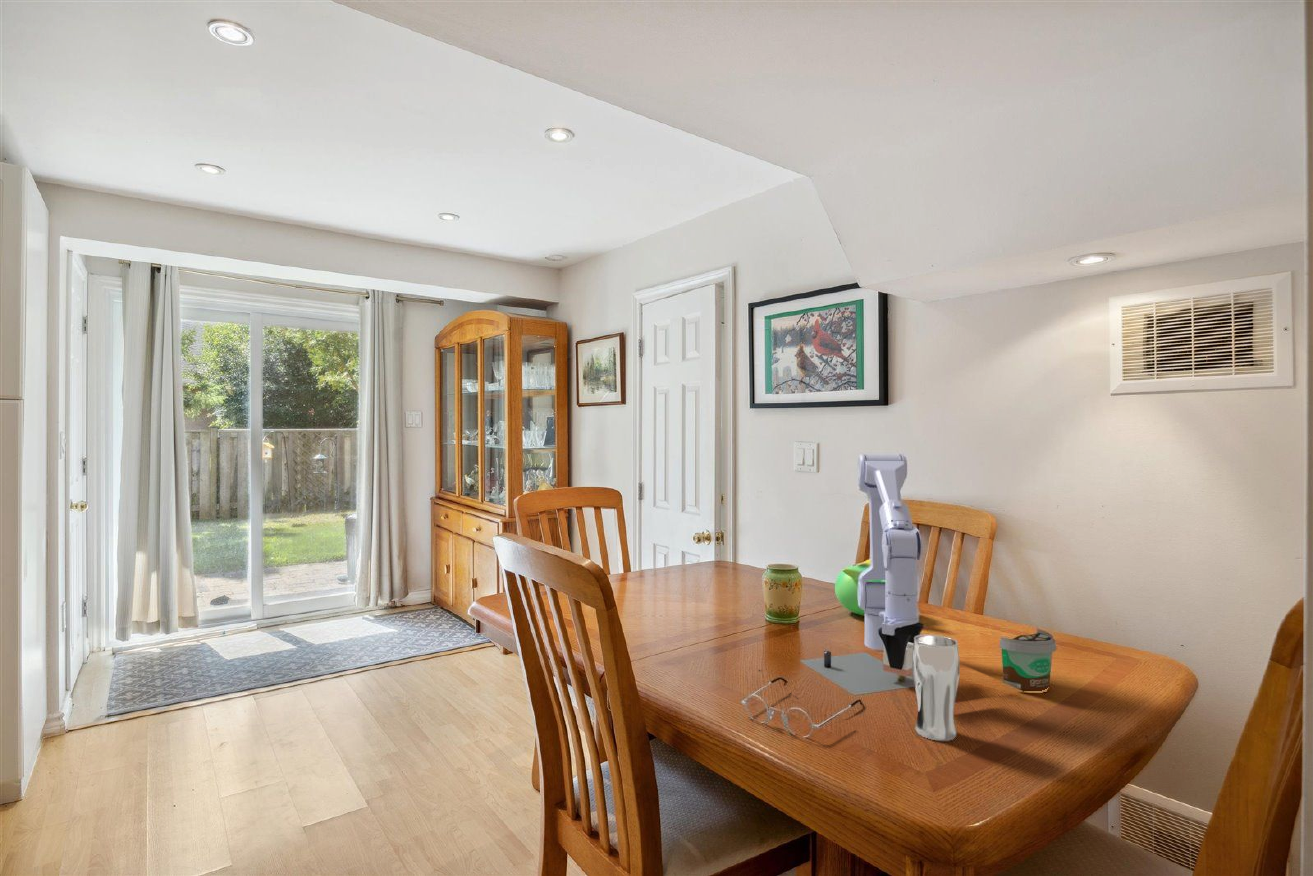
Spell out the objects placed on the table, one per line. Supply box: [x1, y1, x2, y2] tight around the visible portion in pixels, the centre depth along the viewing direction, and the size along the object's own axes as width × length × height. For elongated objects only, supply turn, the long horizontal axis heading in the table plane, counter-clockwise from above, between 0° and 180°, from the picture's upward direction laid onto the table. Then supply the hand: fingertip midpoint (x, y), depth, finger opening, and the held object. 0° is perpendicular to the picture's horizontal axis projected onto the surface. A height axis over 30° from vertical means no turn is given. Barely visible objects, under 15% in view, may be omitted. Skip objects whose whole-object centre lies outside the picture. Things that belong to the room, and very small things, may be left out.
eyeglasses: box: [741, 676, 862, 739], centre depth 112 cm, size 16×19×5 cm
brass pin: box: [897, 674, 905, 682], centre depth 123 cm, size 1×1×3 cm
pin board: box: [798, 652, 915, 696], centre depth 128 cm, size 16×19×2 cm
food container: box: [998, 628, 1058, 692], centre depth 123 cm, size 12×6×10 cm, turn 117°
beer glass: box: [912, 633, 960, 742], centre depth 105 cm, size 7×7×15 cm
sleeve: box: [882, 642, 914, 677], centre depth 123 cm, size 5×5×5 cm
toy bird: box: [834, 558, 885, 617], centre depth 174 cm, size 18×17×15 cm
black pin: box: [823, 650, 832, 668], centre depth 131 cm, size 1×1×3 cm
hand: (901, 664), depth 123 cm, fingers closed on sleeve, 5 cm apart
